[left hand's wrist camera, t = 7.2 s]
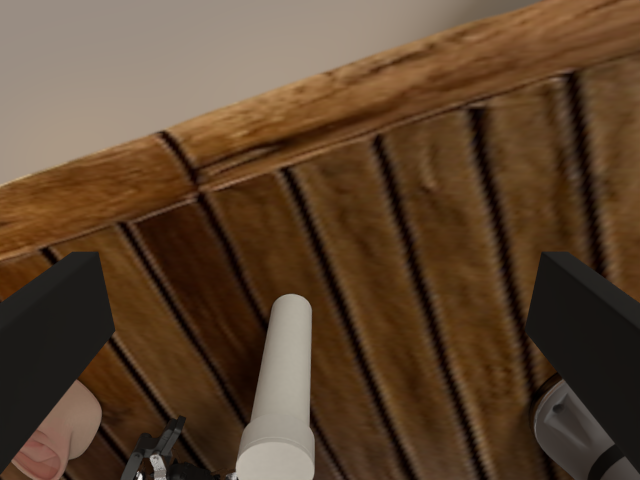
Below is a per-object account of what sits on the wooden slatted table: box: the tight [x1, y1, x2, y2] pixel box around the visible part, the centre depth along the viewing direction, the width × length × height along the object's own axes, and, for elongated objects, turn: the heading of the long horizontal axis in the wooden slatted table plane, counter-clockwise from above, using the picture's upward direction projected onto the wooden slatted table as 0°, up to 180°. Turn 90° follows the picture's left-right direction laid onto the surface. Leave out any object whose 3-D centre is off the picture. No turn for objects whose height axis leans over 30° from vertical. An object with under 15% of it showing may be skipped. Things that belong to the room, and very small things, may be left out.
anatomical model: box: [11, 379, 102, 480], centre depth 47 cm, size 13×4×12 cm
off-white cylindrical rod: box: [251, 294, 312, 426], centre depth 35 cm, size 4×4×18 cm
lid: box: [236, 414, 315, 480], centre depth 28 cm, size 5×5×2 cm
